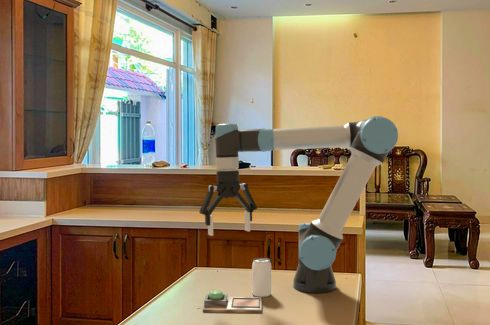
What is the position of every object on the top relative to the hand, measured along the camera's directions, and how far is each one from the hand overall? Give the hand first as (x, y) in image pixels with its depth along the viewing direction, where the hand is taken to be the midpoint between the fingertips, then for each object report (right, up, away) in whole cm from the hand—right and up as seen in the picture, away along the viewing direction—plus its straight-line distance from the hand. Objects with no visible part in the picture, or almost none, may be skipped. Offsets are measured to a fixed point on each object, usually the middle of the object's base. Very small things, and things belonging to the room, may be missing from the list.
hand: (229, 233), depth 172 cm
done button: (-4, -20, -10) cm, 22 cm away
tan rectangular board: (+2, -22, -10) cm, 24 cm away
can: (+11, -21, +2) cm, 24 cm away
